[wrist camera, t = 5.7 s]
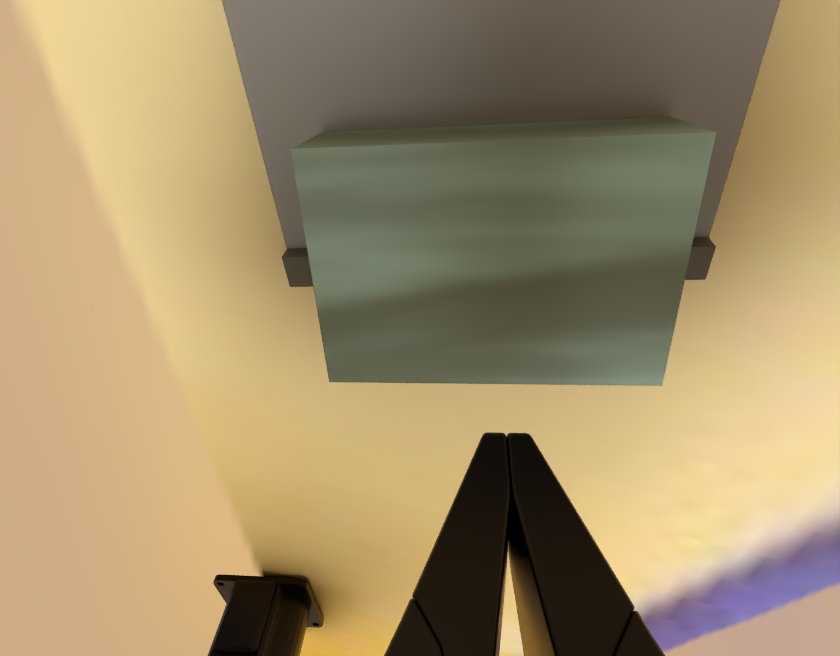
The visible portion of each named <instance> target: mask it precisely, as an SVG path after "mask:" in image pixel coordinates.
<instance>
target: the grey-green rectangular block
mask: <svg viewBox="0 0 840 656" xmlns="http://www.w3.org/2000/svg"><path fill="white" fill-rule="evenodd" d="M715 136H716V132H715V131H712V130H709V129H706V128H703V127H700V126H697V125H694V124H691V123H688V122H685V121H682V120H679V119H676V118H673V117H656V118H633V119H610V120H587V121H564V122H541V123H518V124H494V125H471V126H448V127H425V128H402V129H379V130H356V131H333V132H321V133H319V134H318V135H316V136H314V137H312V138H310V139H308V140H306V141H305V142H303V143H301V144H299V145H297V146H295V147H293V148H292V149H291V155H292V161H293V167H294V173H295V179H296V185H297V191H298V197H299V203H300V209H301V215H302V221H303V227H304V233H305V239H306V245H307V251H308V257H309V263H310V269H311V275H312V281H313V287H314V293H315V299H316V305H317V311H318V317H319V323H320V329H321V335H322V341H323V347H324V353H325V359H326V365H327V371H328V377H329V382H378V383H468V384H559V385H650V386H662V382H663V378H664V373H665V368H666V364H667V359H668V354H669V350H670V345H671V340H672V336H673V331H674V327H675V322H676V317H677V313H678V308H679V303H680V299H681V294H682V289H683V285H684V280H685V275H686V271H687V266H688V261H689V257H690V252H691V247H692V243H693V238H694V234H695V229H696V224H697V220H698V215H699V210H700V206H701V201H702V196H703V192H704V187H705V182H706V178H707V173H708V168H709V164H710V159H711V154H712V150H713V145H714V141H715Z"/></svg>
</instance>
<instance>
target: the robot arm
mask: <svg viewBox="0 0 840 656" xmlns="http://www.w3.org/2000/svg"><path fill="white" fill-rule="evenodd" d="M507 552H509V560H510V568H511V574H512V581H513V587H514V593H515V600H516V606H517V613H518V619H519V625H520V632H521V638H522V645H523V651H524V656H665V655H664V653H663V652H662V650H661V648H660V647H659V645H658V644H657V642H656V641H655V639H654V638H653V636H652V634H651V633H650V631H649V629H648V628H647V626H646V624H645V623H644V621H643V619H642V618H641V616H640V615H639V613H638V612H637V611H633V610H634V605H633V603H632V602H631V600H630V598H629V597H628V595H627V594H626V592H625V590H624V589H623V587H622V585H621V584H620V582H619V580H618V579H617V577H616V575H615V574H614V572H613V570H612V569H611V567H610V565H609V564H608V562H607V561H606V559H605V557H604V556H603V554H602V552H601V551H600V549H599V547H598V546H597V544H596V542H595V541H594V539H593V537H592V536H591V534H590V532H589V531H588V529H587V527H586V526H585V524H584V523H583V521H582V519H581V518H580V516H579V514H578V513H577V511H576V509H575V508H574V506H573V504H572V503H571V501H570V499H569V498H568V496H567V494H566V493H565V491H564V490H563V488H562V486H561V485H560V483H559V481H558V480H557V478H556V476H555V475H554V473H553V471H552V470H551V468H550V466H549V465H548V463H547V461H546V460H545V458H544V457H543V455H542V453H541V452H540V450H539V448H538V447H537V445H536V443H535V442H534V440H533V438H532V437H531V436H530V435H529V434H527V433H509V434H508V435H507V437H506V435H505V434H504V433H485V434H483V436H482V438H481V440H480V442H479V444H478V447H477V449H476V451H475V454H474V456H473V458H472V460H471V463H470V465H469V467H468V469H467V472H466V474H465V476H464V479H463V481H462V483H461V485H460V488H459V490H458V492H457V495H456V497H455V499H454V501H453V504H452V506H451V508H450V510H449V513H448V515H447V517H446V520H445V522H444V524H443V526H442V529H441V531H440V533H439V536H438V538H437V540H436V542H435V545H434V547H433V549H432V551H431V554H430V556H429V558H428V561H427V563H426V565H425V567H424V570H423V572H422V574H421V577H420V579H419V581H418V583H417V586H416V588H415V590H414V592H413V595H412V596H413V599H411V600H410V601H409V603H408V605H407V608H406V610H405V612H404V615H403V617H402V619H401V621H400V623H399V626H398V628H397V630H396V632H395V634H394V636H393V638H392V640H391V642H390V644H389V646H388V649H387V651H386V653H385V655H384V656H499V650H500V639H501V627H502V615H503V604H504V592H505V580H506V568H507ZM214 585H215V587H216V588H217V590H218V591H219V592H220V594H221V596H222V597H223V599H224V600H225V602H226V603H227V605H226V607H225V610H224V613H223V616H222V619H221V621H220V624H219V627H218V629H217V632H216V635H215V637H214V640H213V643H212V645H211V648H210V651H209V654H208V656H300V652H301V648H302V643H303V639H304V635H305V631H306V627H322V625H323V621H324V619H323V616H322V614H321V612H320V609H319V607H318V604H317V602H316V600H315V597H314V595H313V593H312V590H311V588H310V586H309V583H308V582H307V581H306V580H304V579H300V578H280V577H260V576H239V575H217V576H216V577H215V580H214Z"/></svg>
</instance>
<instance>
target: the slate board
mask: <svg viewBox="0 0 840 656" xmlns="http://www.w3.org/2000/svg"><path fill="white" fill-rule="evenodd" d="M222 2H223V6H224V10H225V14H226V18H227V21H228V25H229V29H230V33H231V37H232V41H233V44H234V48H235V52H236V56H237V60H238V63H239V67H240V71H241V75H242V79H243V83H244V86H245V90H246V94H247V98H248V102H249V105H250V109H251V113H252V117H253V121H254V124H255V128H256V132H257V136H258V140H259V144H260V147H261V151H262V155H263V159H264V163H265V166H266V170H267V174H268V178H269V182H270V186H271V189H272V193H273V197H274V201H275V205H276V208H277V212H278V216H279V220H280V224H281V228H282V231H283V235H284V239H285V243H286V247H287V250H286V251H285V253H284V255H283V256H282V259H283V263H284V267H285V270H286V274H287V278H288V281H289V285H290V287H308V286H313V281H312V275H311V269H310V263H309V257H308V251H307V245H306V239H305V233H304V227H303V221H302V215H301V209H300V203H299V197H298V191H297V185H296V179H295V173H294V167H293V161H292V155H291V149H292V148H293V147H295V146H297V145H299V144H301V143H303V142H305V141H306V140H308V139H310V138H312V137H314V136H316V135H318V134H319V133H321V132H333V131H356V130H379V129H402V128H425V127H448V126H471V125H494V124H518V123H541V122H564V121H587V120H610V119H633V118H656V117H673V118H676V119H679V120H682V121H685V122H688V123H691V124H694V125H697V126H700V127H703V128H706V129H709V130H712V131H715V132H716V136H715V141H714V145H713V150H712V154H711V159H710V164H709V168H708V173H707V178H706V182H705V187H704V192H703V196H702V201H701V206H700V210H699V215H698V220H697V224H696V229H695V234H694V238H693V243H692V247H691V252H690V257H689V261H688V266H687V271H686V275H685V280H703V279H706V276H707V273H708V270H709V266H710V263H711V260H712V257H713V254H714V251H715V247H716V246H715V245H714V244H713V242H712V241H711V240H710V239H709V235H710V231H711V228H712V225H713V221H714V218H715V215H716V211H717V208H718V205H719V202H720V198H721V195H722V192H723V188H724V185H725V182H726V178H727V175H728V172H729V168H730V165H731V162H732V158H733V155H734V152H735V148H736V145H737V142H738V138H739V135H740V132H741V129H742V125H743V122H744V119H745V115H746V112H747V109H748V105H749V102H750V99H751V95H752V92H753V89H754V85H755V82H756V79H757V75H758V72H759V69H760V65H761V62H762V59H763V56H764V52H765V49H766V46H767V42H768V39H769V36H770V32H771V29H772V26H773V22H774V19H775V16H776V12H777V9H778V6H779V2H780V0H222Z"/></svg>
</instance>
